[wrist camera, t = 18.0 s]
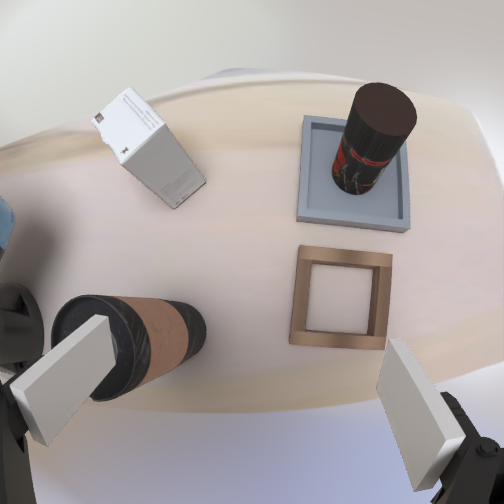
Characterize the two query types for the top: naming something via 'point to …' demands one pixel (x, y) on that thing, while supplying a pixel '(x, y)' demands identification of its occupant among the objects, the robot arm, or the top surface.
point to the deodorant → (372, 136)
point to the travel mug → (135, 337)
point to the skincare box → (147, 148)
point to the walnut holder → (377, 305)
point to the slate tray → (339, 202)
